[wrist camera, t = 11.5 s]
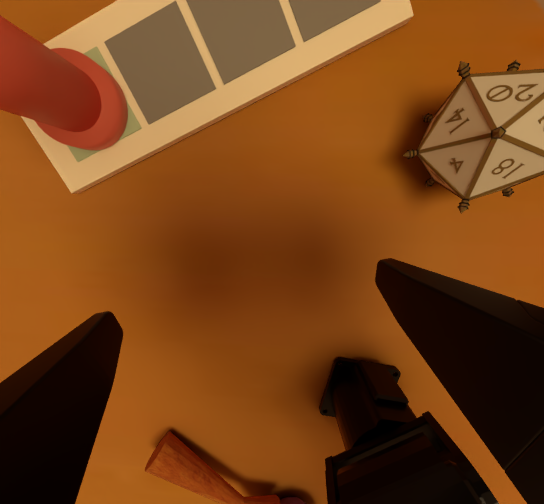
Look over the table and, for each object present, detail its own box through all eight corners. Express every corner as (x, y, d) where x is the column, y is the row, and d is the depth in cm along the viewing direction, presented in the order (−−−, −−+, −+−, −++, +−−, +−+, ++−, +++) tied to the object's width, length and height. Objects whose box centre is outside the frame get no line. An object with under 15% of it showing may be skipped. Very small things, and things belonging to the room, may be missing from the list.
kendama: (165, 452, 21) (342, 568, 22) (185, 404, 27) (323, 499, 28) (122, 507, 21) (303, 619, 22) (151, 447, 27) (292, 539, 28)
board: (365, -132, 15) (371, -153, 14) (406, 23, 17) (414, 14, 16) (5, 79, 17) (-9, 72, 16) (79, 193, 19) (70, 193, 18)
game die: (396, 168, 22) (366, 175, 15) (463, 59, 18) (469, -8, 10) (498, 215, 19) (524, 254, 12) (612, 98, 15) (771, 43, 7)
